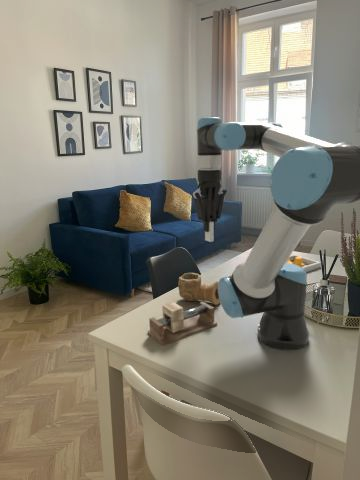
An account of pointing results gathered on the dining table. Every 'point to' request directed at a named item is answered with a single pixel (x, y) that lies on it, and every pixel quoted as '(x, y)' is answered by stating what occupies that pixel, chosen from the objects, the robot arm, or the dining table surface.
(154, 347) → the dining table surface
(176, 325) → the collar
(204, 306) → the rod
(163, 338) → the cradle
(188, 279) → the pipe
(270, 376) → the dining table surface
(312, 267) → the parts corral
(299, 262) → the pipe clamp
